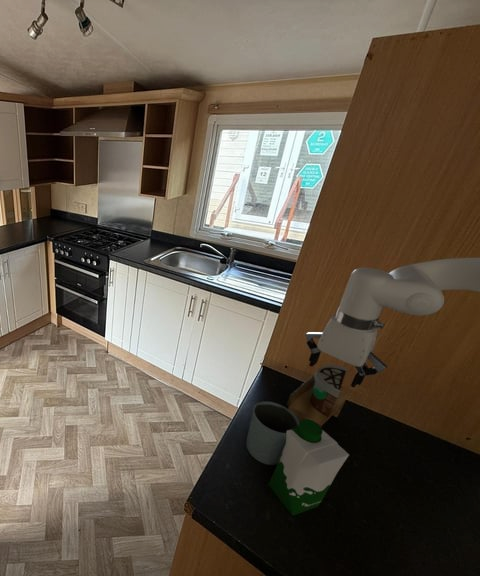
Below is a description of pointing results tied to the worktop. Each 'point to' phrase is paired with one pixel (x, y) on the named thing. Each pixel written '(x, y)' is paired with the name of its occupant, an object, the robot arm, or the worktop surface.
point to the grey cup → (269, 431)
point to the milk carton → (306, 467)
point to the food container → (327, 387)
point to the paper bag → (304, 408)
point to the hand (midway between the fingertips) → (332, 374)
